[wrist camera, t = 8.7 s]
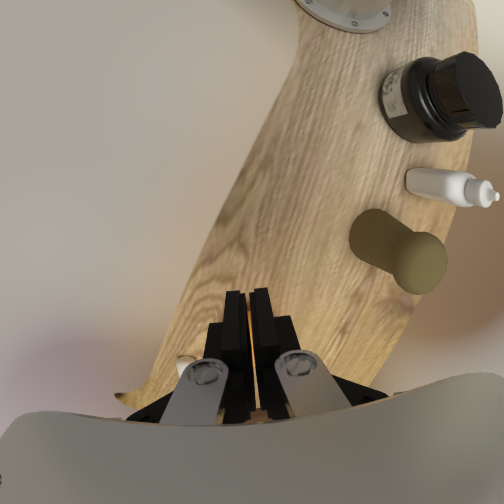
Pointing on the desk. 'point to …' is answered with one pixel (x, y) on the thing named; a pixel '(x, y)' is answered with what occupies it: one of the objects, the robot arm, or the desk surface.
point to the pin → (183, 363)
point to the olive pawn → (399, 251)
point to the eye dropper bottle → (450, 187)
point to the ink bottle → (441, 98)
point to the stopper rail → (259, 416)
